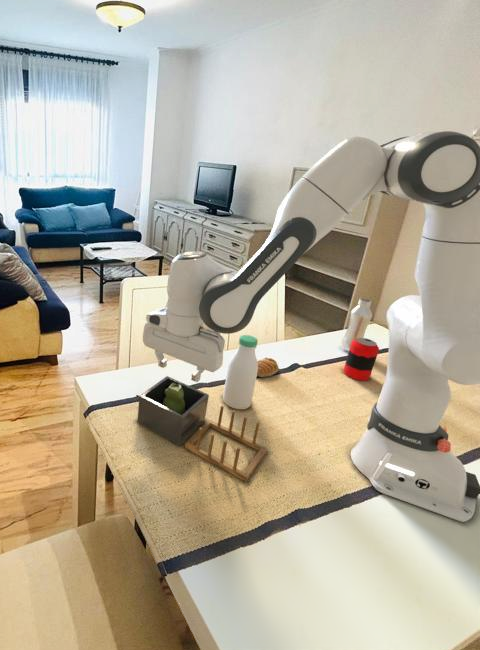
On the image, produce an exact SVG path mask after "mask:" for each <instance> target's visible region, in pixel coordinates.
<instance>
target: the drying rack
mask: <svg viewBox="0 0 480 650" xmlns="http://www.w3.org/2000/svg"><path fill="white" fill-rule="evenodd" d="M224 409H225V406H224V405H220V409H219V413H218V414H219V415H218V420H217V422H216V421H213V420H211V419H208V420H207V421H206V422H205V423H204V424H203V425H202V426H201V427H198V430H196V432H195V433H194V434H193V435H192V436H191V437H189V439H188V440H187V442H185V444H184V448H185V449H186V450H188V451H190V452H192V453H193V454H195V455H197V456H199V457H200V458H203V459H204V460H206V461H208V462H210V463H211V464H213V465H215V466H217V467H219V468H220V469H222V470H224V471H226V472H228V473H229V474H231V475H233V476H234V477H236V478H238V479H239V480H241V481H244V482H248V480H249V478H250V477H251V475H252V474H253V472H254V470H255V469H256V468H257V466H258V465H259V463H260V462H261V460H262V459H263V457H264V456H265V454H266V453H267V449H268V448H267V447H266V446H264V445H262V444H260V443H258V442H257V438H258V434H259V429H260V425H261V424H260V422H259V421H257V422H256V424H255V429H254V432H253V436H252V439H250V438H248V437H246V436H244V435H245V431H246V426H247V422H248V417H247V416H246V415H245V416H244V417H243V421H242V426H241V429H240V430H241V432H240V433H237V432H235V431H233V426H234V421H235V418H236V417H235V416H236V411H235V410H232V412H231V416H230V422H229V427H228V428H227V427H226V426H223V425H221V424H222V420H223V414H224ZM210 428H212V429H214V430H215V431H218V432H220V433H222V434H224V435H226V436H228V437H230V438H232V439H234V440H236V441H238V442H240V443H242V444H243V445H246V446H248V447H250V448H251V449H254V450H256V451H257V454H256V455H255V456H254V458H253V459H252V461H251V462H250V463H249V465H248V466H247V468H246V470H244V471H242V470H240V469H238V468H237V467H238V463H239V457H240V452H241V450H242V449H241V446H237V447H236V451H235V454H234V455H235V456H234V461H233V465H231V464H229V463H227V462H226V461H224V460H225V456H226V450H227V445H228V440H226V439H225V440H223V443H222V449H221V453H220V458H219V457H216V456H215V455H212V452H213V447H214V440H215V433H211V434H210V439H209V447H208V451H205V450H204V449H201V448H200V446H201V441H202V436H203V435H204V434H205V433H206V432H207V431H208V430H209V429H210ZM194 444H196V445H194Z"/></svg>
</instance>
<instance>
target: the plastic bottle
mask: <svg viewBox="0 0 480 650" xmlns="http://www.w3.org/2000/svg"><path fill="white" fill-rule="evenodd" d="M371 304H372V300H371V299H368V298H364V297H363V298H362V297H360V298H359V299H358V302H357V305H356V306H355V307H354V308H352V309H351V311H350V314H349V322H348V326H347V329H346V332H345V334H344V336H343V338H342V340H341V343H340V346H341V349H342V350H344V351H346V352H349V350H350V346H351V343H352V341H354V340H356V339H357V338H365V337H364V336H365V333H366V330H367V328H368V326H369V323H370V322H371V320H372V317H373V313H372V310H371V308H370V307H371V306H372V305H371Z"/></svg>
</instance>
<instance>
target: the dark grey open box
mask: <svg viewBox="0 0 480 650" xmlns="http://www.w3.org/2000/svg"><path fill="white" fill-rule="evenodd" d="M172 383H175V384H178V383H179V385H181V386H182V389H183V392H184V398H183V399H184V402H185V410H184V413H183V415H181V414H179V413H177V412H175V411H173V410H171V409H169V408H167V407H165V406H163V402H164V399H165V397H166V394H165V390H166V389H167V388H168V387H169V386H170V385H171V384H172ZM209 397H210V394H208V393H205V392H204V391H201V390H199V389H197V388H196V387H193V386H191V385H188V384H186V383H184V382H181V381H179V380H177V379H175V378H173V377H171V376H168V375H167V376H165V377H164V378H162V379H160V380H159V381H158V382H156V383H155V384H154V385H152V386H151V387H149V388H148V389H147V390H145V391H144V392H142V393H141V394H140V395H139V396H138V409H137V410H138V411H137V419H136V420H137V421H136V423H138V424H140V425H141V426H143V427H145V428H147V429H149V430H151V431H152V432H154V433H156V434H157V435H160V436H161V437H162V438H165V439H167V440H168V441H170V442H172V443H173V444H176V445H177V446H178V447H179V446H181V445H182V444H183V443H184V442H185V441H186V440H187V439H188V438H190V436H191V435H192V434H193V433H194V432H195V431H197V429H199V428H200V426H201V425H202V424H203V423H204V422H205V421H206V416H207V409H208V402H209Z"/></svg>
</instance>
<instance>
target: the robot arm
mask: <svg viewBox="0 0 480 650" xmlns="http://www.w3.org/2000/svg"><path fill="white" fill-rule="evenodd" d="M379 192H380V193H382V194H384V195H388V196H392V197H394V198H396V199H399V200H403V201H416V202H419V203H421V204H422V205H423V208H424V216H425V217H424V218H425V220H424V223H423V227H422V231H421V237H420V242H419V246H418V251H417V257H416V262H415V266H414V267H415V268H414V273H413V275H414V281H415V283H416V286H417V290H418V294H409V295H404V296H402V297H400V298H398V299H397V300H395V301H394V302H393V303H392V304H391V305H390V306H389V307H388V309H387V311H386V315H385V318H386V323H387V328H388V351H387V352H388V353H387V368H386V374H385V377H384V382H383V385H382V388H381V391H380V393H379V397H378V400H377V401H376V402H375V403H374V404H373V406H372V407H371V409H370V412H369V416H368V419H367V422H366V423H367V424H366V428H365V431H364V432H363V434H362V436H361V438H360V439H359V440H358V442H357V443H356V444H355V445H354V446H353V447H352V449H351V451H350V458H351V461H352V463H353V465H354V466H355V467H356V469H358V470H359V472H361V474H363V476H365V477H366V478H367V479H368V480H369V482H370V483H371V485H372V486H373V488H374V489H375V490H376V491H378V492H379V493H381V494H383V495H386V496H389V497H392V498H395V499H398V500H399V501H403V502H405V503H409V504H411V505H414V506H417V507H418V508H422V509H425V510H428V511H431V512H433V513H436V514H438V515H441V516H444V517H447V518H449V519H452V520H456V521H458V522H461V523H465V522H468V521H470V520H471V519H472V518H473V516H474V514H475V511H476V500H477V498H478V497H479V496H480V483H479V480H478V477H477V475H476V474H475V473H471V472H468V471H466V468H465V466H464V464H463V462H462V461H461V460H460V459H459V458H458V457H457V456H456V454H454V453H453V452H452V451H451V449H452V448H451V446H452V444H451V442H450V441H449V433H448V432H447V427H446V425H444V426H441V423H442V421H443V419H444V416H445V413H446V412H447V409H448V407H449V405H450V402H451V401H452V400H451V399H452V391H451V387H450V384H449V381H450V382H452V383H455V384H457V385H462V386H477V385H480V145H479V143H478V142H477V141H476V140H475V139H474V138H472V137H470V136H468V135H467V134H464V133H461V132H457V131H447V130H446V131H426V132H425V131H424V132H418V133H415V134H412V135H409V136H403V137H399V138H396V139H393V140H390V141H388V142H385V143H383V144H378V142H376V141H374V140H373V139H370V138H367V137H363V136H351V137H347V138H345V139H344V140H342V141H341V142H340V143H338V144H336V146H334V147H333V148H332V149H330V150H329V151H328V152H327V153H325V154H324V155H323V156H322V157H321V158H320V159H319V160H317V161H316V162H315V163H314V164H313V165H312V166H311V167H310V168H309V169H308V170H307V171H305V173H304V174H303V175H302V176H301V177H300V178H299V179H298V180H297V181H296V182H295V184H294V185H293V186H292V187H291V188H290V189H289V191H288V193H286V195H285V197H284V198H283V200H282V201H281V203H280V205H278V207H277V211H276V215H275V219H274V223H273V225H272V228H271V231H270V233H269V235H268V237H267V238H266V240H265V242H264V244H263V245H262V246H261V247H260V248H259V249H258V250H257V252H256V253H254V255H252V257H251V258H250V259H249V260H248V261H247V262H246V263H245V265H243V267H241V269H240V270H238V269H234V268H231V267H228V266H226V265H223V264H221V263H219V262H217V261H216V260H215V259H213V258H212V257H211V256H210V255H209V254H208V253H206V252H204V251H199V250H193V251H192V250H191V251H185V252H182V253H179V254H177V255H176V256H175V257H174V258H173V259H172V261H171V262H170V267H169V271H168V277H167V286H166V293H167V302H166V304H165V306H163V307H159V308H156V309H154V310H152V311H150V312H149V313H147V314H146V315H145V320H146V322H145V324H144V326H143V330H142V331H143V332H142V343H143V344H144V345H143V346H144V347H146V348H149V349H152V350H153V351H154V354H155V357H156V360H157V361H158V362H157V366H158V367H159V368H162V369H165V368H166V367H167V365H168V359H166V358H165V355H168V356H169V357H171V358H174V359H177V360H180V361H182V362H185V363H187V364H190V365H192V366H194V367H196V370H197V371H194V372H193V373H192V374H191V381H194V382H195V383H198V382H199V381H200V380H201V376H202V374H203V373H204V371H207V372H210V373H214V372H216V371H218V370H219V369H220V368H221V367H222V366H223V364H224V363H223V361H224V348H225V343H226V341H225V338H224V336H222V335H221V334H224V335H225V334H226V335H228V334H235V333H238V332H240V331H242V330H243V329H246V327H247V326H248V325H249V324H250V322H251V321H252V319H253V316H254V314H255V311H256V309H257V307H258V304H259V303H260V301H261V300H262V299H263V297H264V296H266V294H267V293H268V292H269V291H270V290H271V289H272V288H273V287H274V286H275V285H276V283H278V281H280V279H281V278H282V277H284V276H285V274H286V273H287V272H288V271H289V270H290V269H291V268H292V267H293V266H294V265H295V264H296V263H297V262H298V261H299V260H300V258H302V257H303V255H304V254H306V253H307V252H308V251H309V250H310V249H311V248H313V247H314V246H315V245H316V244H318V242H319V241H321V240H322V239H323V238H324V237H325V236H327V235H328V234H329V233H330V232H331V231H332V230H333V229H335V228H336V227H337V226H338V225H340V223H341V222H343V220H345V219H346V217H348V216H349V215H351V213H352V212H353V211H355V209H356V208H357V207H358V206H359V205H360V204H361V203H362V202H363V201H365V200H366V199H368V198H369V197H371V196H372V195H374V194H377V193H379ZM204 325H205V326H206V327H204ZM164 354H165V355H164Z"/></svg>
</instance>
